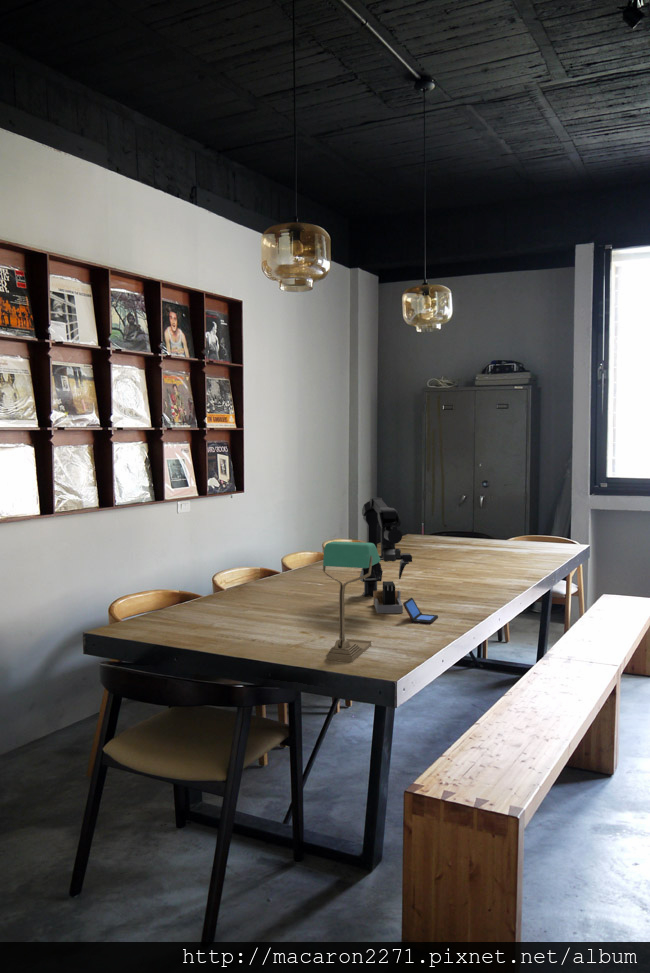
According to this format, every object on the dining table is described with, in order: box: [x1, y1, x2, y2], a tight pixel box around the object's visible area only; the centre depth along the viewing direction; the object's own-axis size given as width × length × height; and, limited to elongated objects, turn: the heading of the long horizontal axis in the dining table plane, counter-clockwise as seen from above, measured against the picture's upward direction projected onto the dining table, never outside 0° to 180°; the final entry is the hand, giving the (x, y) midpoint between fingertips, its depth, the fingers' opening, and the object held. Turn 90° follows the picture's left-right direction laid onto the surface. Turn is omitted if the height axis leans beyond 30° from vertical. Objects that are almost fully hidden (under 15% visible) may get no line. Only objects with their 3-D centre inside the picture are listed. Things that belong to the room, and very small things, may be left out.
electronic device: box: [382, 580, 396, 605], centre depth 303 cm, size 4×10×10 cm, turn 1°
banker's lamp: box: [322, 540, 382, 663], centre depth 240 cm, size 16×21×35 cm
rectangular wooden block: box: [372, 589, 402, 606], centre depth 311 cm, size 11×2×6 cm, turn 93°
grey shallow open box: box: [374, 598, 404, 614], centre depth 303 cm, size 14×10×3 cm
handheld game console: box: [402, 597, 439, 625], centre depth 284 cm, size 12×11×7 cm
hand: (388, 579), depth 303 cm, fingers open, 9 cm apart
